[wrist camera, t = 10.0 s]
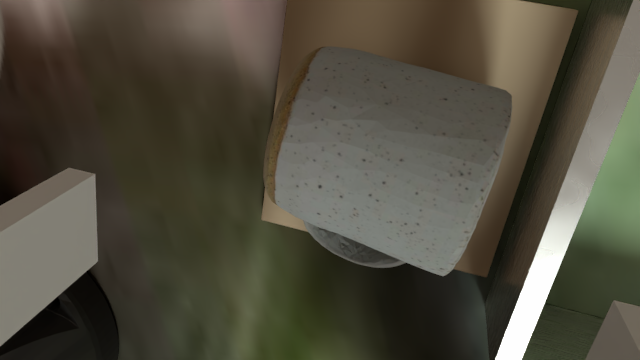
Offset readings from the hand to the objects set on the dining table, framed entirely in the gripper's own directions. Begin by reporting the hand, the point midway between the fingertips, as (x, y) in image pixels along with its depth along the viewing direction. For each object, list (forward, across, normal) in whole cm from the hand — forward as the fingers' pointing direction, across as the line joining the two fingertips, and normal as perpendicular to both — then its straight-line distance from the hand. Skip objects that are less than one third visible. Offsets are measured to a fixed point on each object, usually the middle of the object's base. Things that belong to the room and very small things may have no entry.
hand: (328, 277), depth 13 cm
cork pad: (+13, +1, 0) cm, 13 cm away
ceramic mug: (+13, +1, -1) cm, 13 cm away
